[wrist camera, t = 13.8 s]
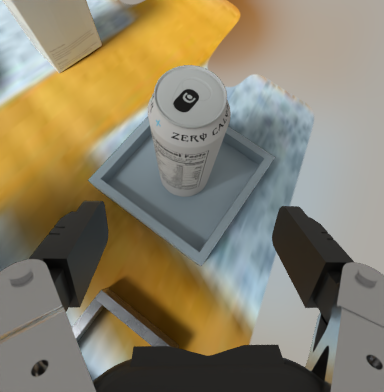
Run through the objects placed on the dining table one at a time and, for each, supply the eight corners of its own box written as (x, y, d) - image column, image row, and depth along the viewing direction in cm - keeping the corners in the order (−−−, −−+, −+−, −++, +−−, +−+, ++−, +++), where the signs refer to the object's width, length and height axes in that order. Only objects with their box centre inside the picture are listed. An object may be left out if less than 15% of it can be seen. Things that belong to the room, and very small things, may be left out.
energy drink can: (216, 172, 30) (253, 89, 16) (189, 208, 29) (201, 153, 14) (179, 146, 31) (181, 43, 16) (150, 180, 29) (124, 100, 15)
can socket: (41, 372, 24) (26, 385, 21) (108, 287, 26) (101, 290, 24) (117, 441, 23) (109, 462, 20) (178, 344, 25) (178, 353, 23)
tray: (96, 188, 30) (87, 180, 27) (173, 104, 34) (172, 89, 31) (198, 265, 28) (201, 265, 25) (266, 166, 32) (275, 157, 29)
